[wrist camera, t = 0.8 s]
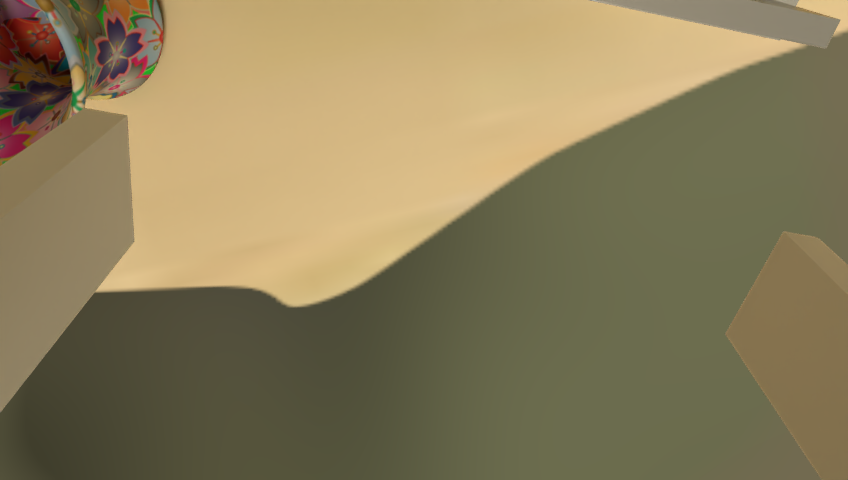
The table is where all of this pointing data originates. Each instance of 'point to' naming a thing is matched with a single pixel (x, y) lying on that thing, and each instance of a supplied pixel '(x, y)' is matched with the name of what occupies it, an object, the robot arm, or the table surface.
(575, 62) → the table surface
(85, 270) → the robot arm
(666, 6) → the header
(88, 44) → the mug
